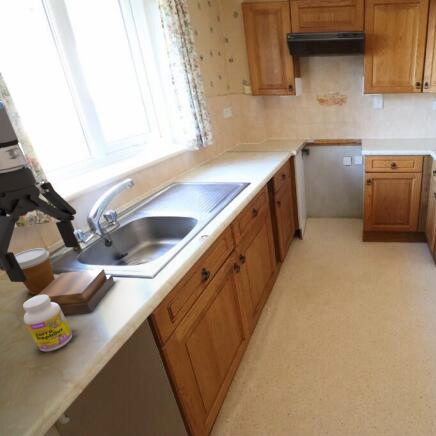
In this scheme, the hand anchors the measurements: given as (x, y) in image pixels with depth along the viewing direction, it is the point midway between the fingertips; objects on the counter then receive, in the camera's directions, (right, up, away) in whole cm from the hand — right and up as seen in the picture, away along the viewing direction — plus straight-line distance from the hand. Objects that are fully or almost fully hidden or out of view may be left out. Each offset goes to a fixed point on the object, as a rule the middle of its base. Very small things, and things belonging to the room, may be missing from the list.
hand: (48, 262), depth 71 cm
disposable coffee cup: (-27, -12, +30) cm, 42 cm away
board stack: (-12, -14, +24) cm, 30 cm away
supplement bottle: (-5, -21, +9) cm, 24 cm away
